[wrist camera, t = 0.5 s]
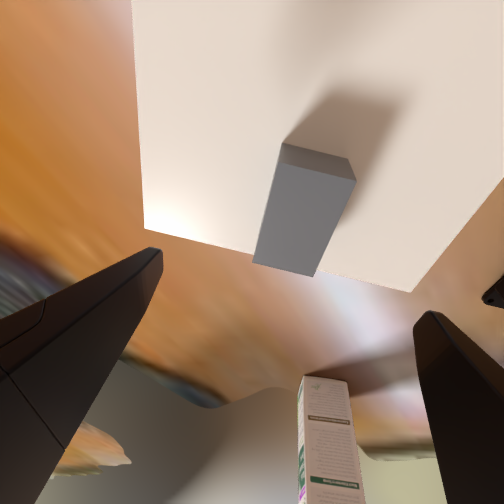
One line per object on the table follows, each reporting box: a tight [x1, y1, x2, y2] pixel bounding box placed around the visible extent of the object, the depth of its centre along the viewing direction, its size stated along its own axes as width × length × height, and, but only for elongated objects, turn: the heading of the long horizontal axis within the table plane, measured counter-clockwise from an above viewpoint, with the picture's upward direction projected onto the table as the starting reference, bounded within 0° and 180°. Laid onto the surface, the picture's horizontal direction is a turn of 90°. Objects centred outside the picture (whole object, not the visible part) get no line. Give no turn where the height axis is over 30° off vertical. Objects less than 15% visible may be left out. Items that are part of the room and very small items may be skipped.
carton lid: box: [131, 0, 504, 293], centre depth 10 cm, size 16×18×3 cm
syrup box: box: [298, 376, 365, 504], centre depth 31 cm, size 6×6×14 cm
